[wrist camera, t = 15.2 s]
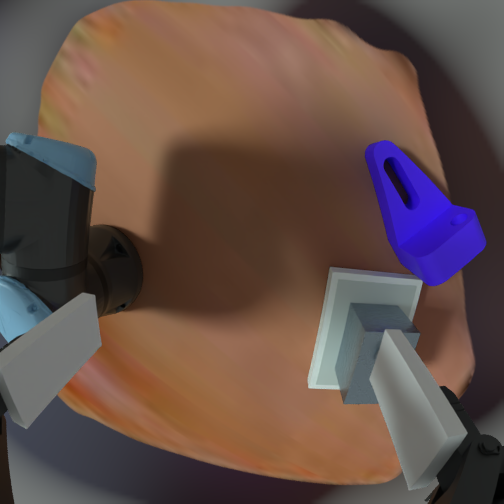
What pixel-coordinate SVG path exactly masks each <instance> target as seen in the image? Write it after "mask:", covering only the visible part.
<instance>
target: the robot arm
mask: <svg viewBox="0 0 504 504" xmlns="http://www.w3.org/2000/svg"><path fill="white" fill-rule="evenodd" d="M6 143H7V145H0V253H1V258H2V275H0V332H1V333H2V335H3V336H4V337H5V339H6V340H7V341H8V342H9V344H6V345H5V346H3V348H1V349H0V504H14V499H13V493H12V486H11V479H10V471H9V462H8V452H7V451H8V450H7V433H6V419H5V416H4V415H3V414H4V413H5V412H6V411H7V410H8V412H9V414H10V416H11V418H12V420H13V421H14V422H15V423H17V424H19V425H20V426H22V427H24V428H26V429H27V428H28V427H29V426H30V425H31V423H32V422H33V421H34V420H35V419H36V418H37V416H38V415H39V414H40V413H41V412H42V411H43V409H44V408H45V407H46V406H47V405H48V404H49V403H50V402H51V400H52V399H53V398H54V397H55V396H56V395H57V394H58V392H59V391H60V390H61V389H62V388H63V387H64V386H65V385H66V384H67V382H68V381H69V380H70V379H71V378H72V377H73V376H74V375H75V374H76V372H77V371H78V370H79V369H80V368H81V367H82V366H83V365H84V364H85V363H86V362H87V360H88V359H89V358H90V357H91V356H92V355H93V354H94V353H95V352H96V351H97V350H98V349H99V348H100V346H101V345H102V344H101V337H100V331H99V323H98V318H99V317H102V316H106V315H111V314H115V313H118V312H120V311H122V310H124V309H126V308H127V307H128V306H129V305H130V304H131V303H132V302H133V301H134V300H135V299H136V298H137V296H138V294H139V292H140V290H141V286H142V281H143V270H142V264H141V261H140V257H139V255H138V253H137V251H136V249H135V247H134V246H133V244H132V243H131V241H130V240H129V239H128V238H127V237H126V236H125V235H124V234H123V233H121V232H120V231H119V230H117V229H115V228H113V227H110V226H107V225H93V226H90V222H91V212H92V204H93V196H94V192H95V191H96V188H95V186H94V185H95V174H96V165H97V161H96V157H95V155H94V153H93V152H92V151H91V150H89V149H87V148H84V147H81V146H78V145H74V144H70V143H66V142H62V141H58V140H54V139H49V138H44V137H39V136H33V135H27V134H22V133H16V132H13V133H11V134H10V135H9V136H8V138H7V139H6ZM369 380H370V382H371V385H372V387H373V390H374V392H375V395H376V398H377V400H378V403H379V405H380V408H381V411H382V413H383V416H384V419H385V421H386V424H387V427H388V430H389V432H390V435H391V438H392V441H393V444H394V447H395V449H396V452H397V455H398V458H399V461H400V464H401V467H402V470H403V473H404V476H405V479H406V482H407V486H408V489H409V490H414V489H418V488H423V487H428V486H429V485H430V483H431V482H432V481H433V480H434V479H435V477H437V479H438V482H439V485H438V486H437V487H436V488H435V489H434V490H433V491H432V493H431V494H430V495H429V496H428V497H427V498H426V499H425V501H428V500H429V499H430V500H429V502H428V504H504V446H502V445H501V443H500V442H499V441H498V440H497V439H496V438H494V437H492V436H490V435H485V434H483V435H481V434H480V433H479V431H478V429H477V428H476V426H475V425H474V423H473V421H472V420H471V418H470V417H469V415H468V414H467V412H466V411H464V407H463V406H462V404H460V402H459V400H458V398H457V397H456V395H455V394H454V393H453V392H452V391H451V390H449V389H448V388H447V387H446V386H438V384H437V383H436V381H435V380H434V378H433V377H432V375H431V373H430V372H429V370H428V369H427V367H426V366H425V365H424V363H423V362H422V360H421V359H420V357H419V356H418V354H417V353H416V351H415V350H414V348H413V347H412V346H411V344H410V343H409V341H408V340H407V338H406V337H405V336H404V334H403V333H402V331H401V330H396V329H385V332H384V335H383V338H382V342H381V345H380V348H379V352H378V355H377V358H376V361H375V364H374V367H373V370H372V373H371V376H370V379H369Z"/></svg>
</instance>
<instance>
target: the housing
mask: <svg viewBox="0 0 504 504" xmlns="http://www.w3.org/2000/svg"><path fill="white" fill-rule="evenodd" d="M385 329H396V330H401V331H402V333H403V334H404V336H405V337H406V338H407V340H408V341H409V343H410V344H411V346H412V347H413V348H414V350H415V348H416V345H417V342H418V339H419V336H420V332H419V330H418V329H417V328H416V327H415V326H414V324H413V323H412V322H411V321H410V319H409V318H408V317H407V316H406V315H405V313H404V312H403V311H402V310H401V309H400V307H399V306H397V305H380V304H365V303H350V306H349V311H348V315H347V320H346V324H345V329H344V333H343V337H342V341H341V345H340V349H339V353H338V357H337V361H336V365H335V372H336V376H337V380H338V384H339V388H340V392H341V396H342V400H343V404H379V403H378V400H377V398H376V395H375V392H374V390H373V387H372V385H371V382H370V380H369V379H370V376H371V373H372V370H373V367H374V364H375V361H376V358H377V355H378V352H379V348H380V345H381V342H382V338H383V335H384V332H385Z"/></svg>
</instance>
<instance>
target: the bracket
mask: <svg viewBox="0 0 504 504" xmlns="http://www.w3.org/2000/svg"><path fill="white" fill-rule="evenodd" d="M365 158H366V161H367V165H368V168H369V171H370V174H371V177H372V181H373V184H374V188H375V191H376V195H377V198H378V202H379V205H380V209H381V213H382V217H383V221H384V225H385V229H386V233H387V237H388V241H389V243H390V244H391V246H392V248H393V250H394V252H395V253H396V255H397V257H398V259H399V261H400V263H401V264H402V265H403V266H405V267H406V268H407V269H408V270H410V271H411V272H412V273H413V274H415V275H416V276H417V277H418V278H420V279H421V280H422V281H423V282H425V283H426V284H427V285H429V286H436V285H439V284H442V283H444V282H445V281H447V280H448V279H449V278H450V277H452V276H453V275H454V274H455V273H456V272H458V271H459V270H460V269H461V268H462V267H464V266H465V265H466V264H467V263H468V262H470V260H472V259H473V258H474V257H475V256H476V255H478V254H479V253H480V252H481V251H482V250H483V249H484V248H485V246H486V239H485V237H484V234H483V231H482V228H481V226H480V223H479V220H478V218H477V216H476V213H475V211H474V210H472V209H468V208H463V207H460V206H456V205H452V204H451V202H450V201H449V200H448V199H447V198H446V197H445V196H444V194H443V193H442V192H441V191H440V190H439V189H438V188H437V187H436V186H435V185H434V183H433V182H432V181H431V180H430V179H429V178H428V177H427V176H426V175H425V174H424V173H423V172H422V171H421V170H420V169H419V168H418V167H417V166H416V165H415V164H414V163H413V162H412V161H411V160H410V159H409V158H408V157H407V156H406V155H405V154H404V153H403V152H402V151H401V150H400V149H399V148H398V147H397V146H396V145H395V144H393V143H392V142H390V141H386V140H384V141H380V142H377V143H373V144H371V145H369V146H368V147H367V149H366V151H365ZM385 160H387V161H388V163H389V164H390V166H391V167H392V169H393V171H394V172H395V174H396V176H397V177H398V179H399V181H400V183H401V184H402V186H403V188H404V189H405V191H406V193H407V195H408V201H407V203H406V205H404V203H403V201H402V199H401V197H400V196H399V194H398V192H397V190H396V189H395V187H394V185H393V184H392V182H391V180H390V179H389V177H388V175H387V174H386V172H385V170H384V167H383V164H384V161H385Z"/></svg>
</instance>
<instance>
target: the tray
mask: <svg viewBox="0 0 504 504" xmlns="http://www.w3.org/2000/svg"><path fill="white" fill-rule="evenodd" d="M422 283H423V281H422V280H421V279H420V278H418V277H417V276H416V275H410V274H399V273H389V272H379V271H368V270H358V269H348V268H338V267H330V269H329V275H328V281H327V287H326V292H325V298H324V303H323V309H322V314H321V319H320V324H319V329H318V334H317V339H316V344H315V349H314V353H313V358H312V362H311V367H310V371H309V376H308V387H309V388H316V389H340V388H339V384H338V380H337V376H336V372H335V365H336V361H337V357H338V353H339V349H340V345H341V341H342V337H343V333H344V329H345V324H346V320H347V315H348V311H349V306H350V303H365V304H380V305H397V306H399V307H400V309H401V310H402V311H403V312H404V313H405V315H406V316H407V317H408V318H409V319H410V321H411V322H412V320H413V317H414V314H415V310H416V306H417V303H418V299H419V295H420V291H421V287H422Z"/></svg>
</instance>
